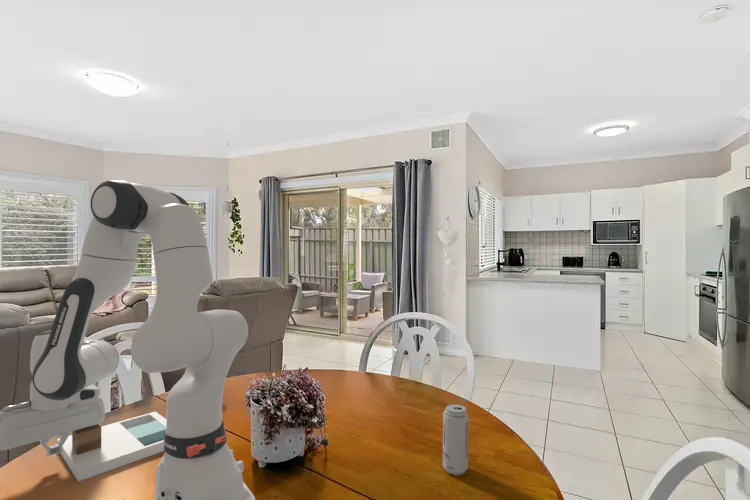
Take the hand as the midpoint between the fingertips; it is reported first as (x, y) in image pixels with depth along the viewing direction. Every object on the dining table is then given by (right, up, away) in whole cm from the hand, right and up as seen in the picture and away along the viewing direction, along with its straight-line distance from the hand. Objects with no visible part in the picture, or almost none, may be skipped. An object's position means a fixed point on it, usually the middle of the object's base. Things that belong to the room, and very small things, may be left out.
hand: (54, 453), depth 95 cm
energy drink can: (+97, -5, +1) cm, 97 cm away
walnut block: (+4, -1, +5) cm, 7 cm away
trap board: (+10, -4, +11) cm, 15 cm away
